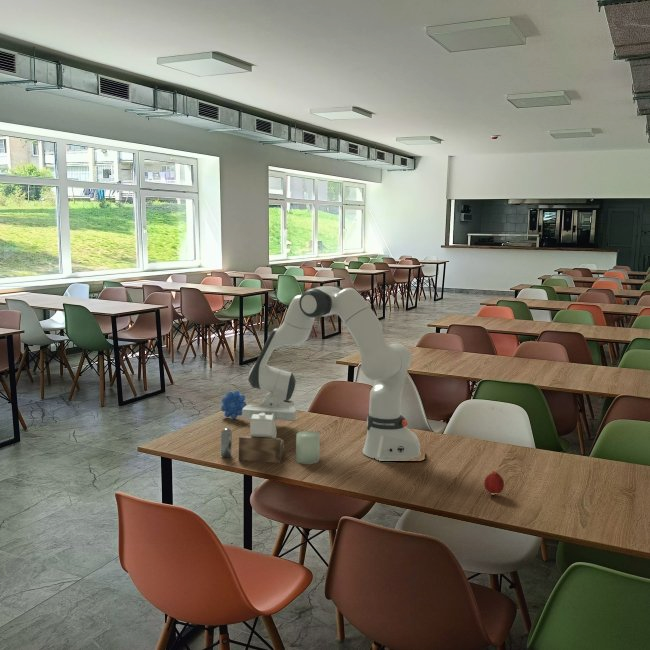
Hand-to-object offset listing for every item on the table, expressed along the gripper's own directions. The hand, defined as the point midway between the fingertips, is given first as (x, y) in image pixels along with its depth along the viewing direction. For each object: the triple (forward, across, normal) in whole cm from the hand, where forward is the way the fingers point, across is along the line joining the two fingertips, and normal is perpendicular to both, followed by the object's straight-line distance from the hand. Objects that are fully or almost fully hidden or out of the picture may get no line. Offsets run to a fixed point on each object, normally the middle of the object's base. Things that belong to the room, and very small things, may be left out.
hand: (266, 419), depth 233 cm
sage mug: (+12, +16, +10) cm, 22 cm away
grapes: (-30, -18, +10) cm, 37 cm away
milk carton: (+4, 0, +7) cm, 8 cm away
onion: (+34, +75, +9) cm, 83 cm away
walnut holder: (+12, 0, +10) cm, 15 cm away
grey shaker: (+14, -12, +10) cm, 20 cm away
